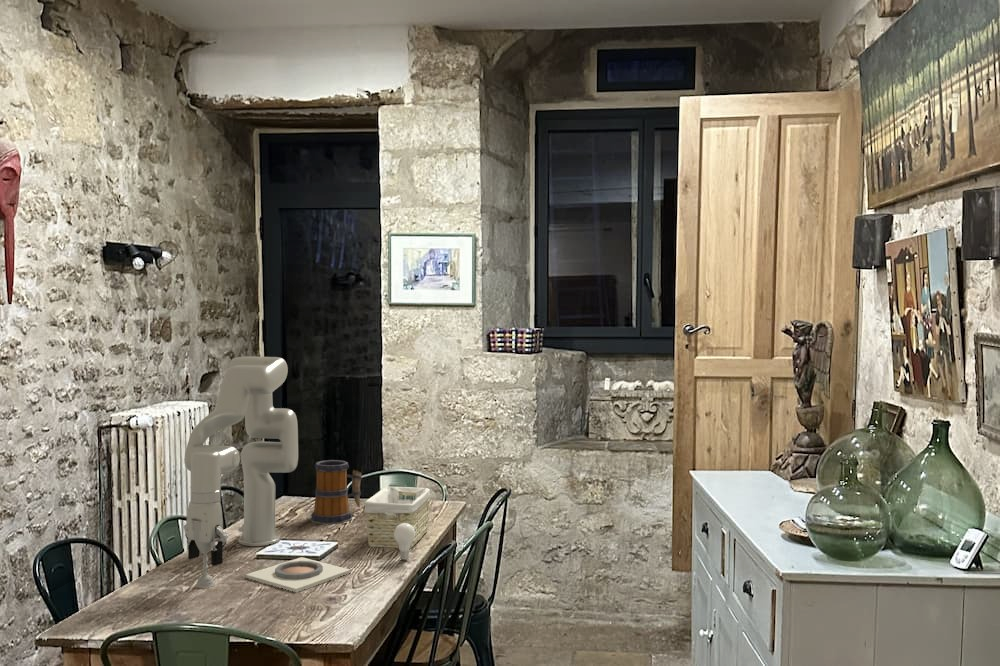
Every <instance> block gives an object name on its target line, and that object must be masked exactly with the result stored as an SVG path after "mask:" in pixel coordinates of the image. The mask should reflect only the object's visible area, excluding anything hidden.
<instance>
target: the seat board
mask: <svg viewBox="0 0 1000 666" xmlns="http://www.w3.org/2000/svg"><path fill="white" fill-rule="evenodd" d="M349 573H350V574H352V570H351V568H350V569H349V568H345V567H342V566H337V565H334V564H331V563H326V562H323V561H318V560H315V559H310V558H307V557H301V556H299V557H298V558H294V559H291V560H288V561H285V562H281V563H279V564H275V565H272V566H269V567H266V568H263V569H259V570H256V571H253V572H249V573H246V574H245V579H247V578H249V579H248V580H251V579H252V580H251V581H254V580H256V581H255V582H257V581H260V582H259V583H261V582H263V583H262V584H264V583H266V584H265V585H268V584H270V585H269V586H271V585H273V586H272V587H275V586H276V587H275V588H278V587H279V588H278V589H281V588H283V589H282V590H285V589H286V590H285V591H288V590H289V592H292V591H293V593H295V592H297V593H299V591H300V592H302V591H305V590H307V589H311V588H313V586H314V587H317V586H319V585H322V584H324V582H325V583H328V582H330V581H329V580H331V581H332V579H333V580H336V579H338V577H339V578H341V577H340V576H342V577H344V576H343V575H345V576H347V575H349ZM346 574H347V575H346ZM335 578H336V579H335ZM327 581H328V582H327ZM318 584H319V585H318ZM316 585H317V586H316ZM310 587H311V588H310ZM304 589H305V590H304Z"/></svg>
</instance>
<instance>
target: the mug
mask: <svg viewBox="0 0 1000 666" xmlns="http://www.w3.org/2000/svg"><path fill="white" fill-rule="evenodd" d="M314 468H315V470H316V487H315V489H314V491H315V493H314V494H315V496H314V497H315V500H314V507H313V512H312V513H311V516H310V521H311V523H313V524H318V525H319V524H320V525H338V524H337V523H340V524H344V522H345V523H348V522H351V520H352V519H353V516H352V513H351V511H350V509H349V507H350V506H349V498H352V497H353V499H354V502H355V504H356V505H357V507H358V508H361V507H360V506H361V503H360V500H361V499H360V496H361V495H362V494H361V493H362V492H361V481H362V472H361V471H359V470H357V469H356V470H355V469H353V470H352V474H347V471H348V469H349V468H350V466H349V462H348V461H345V460H339V459H338V460H337V459H328V460H320V461H316V462H315V464H314ZM348 478H351V489H352V492H351V493H349V488H348V486H347V485H348V484H347V482H348V480H347V479H348Z"/></svg>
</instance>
